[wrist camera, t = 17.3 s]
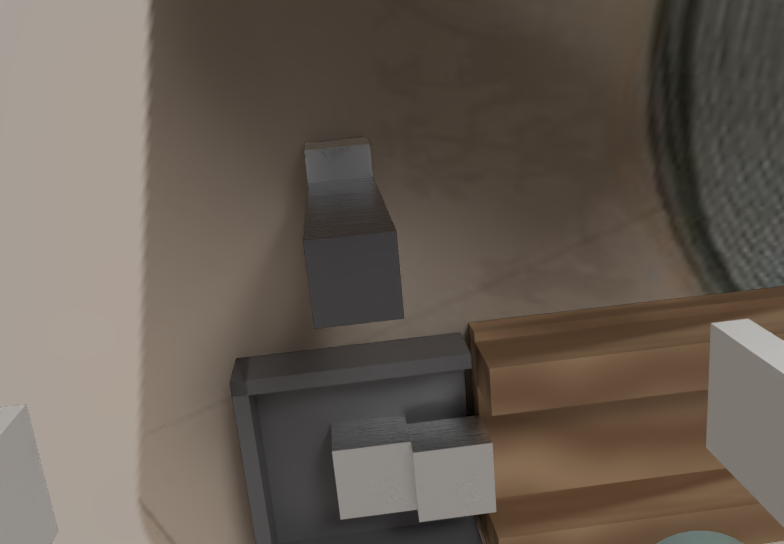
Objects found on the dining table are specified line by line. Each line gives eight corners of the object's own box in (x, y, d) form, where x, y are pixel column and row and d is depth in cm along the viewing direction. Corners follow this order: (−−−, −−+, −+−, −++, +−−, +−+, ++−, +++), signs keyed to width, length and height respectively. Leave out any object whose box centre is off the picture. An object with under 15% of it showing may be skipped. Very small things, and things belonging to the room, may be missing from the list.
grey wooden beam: (305, 142, 37) (297, 194, 24) (365, 136, 37) (392, 184, 24) (319, 259, 39) (319, 370, 25) (377, 253, 39) (407, 360, 25)
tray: (235, 358, 40) (229, 382, 37) (459, 332, 40) (470, 353, 38) (266, 551, 43) (263, 586, 40) (472, 523, 44) (483, 556, 41)
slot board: (468, 322, 40) (488, 359, 36) (790, 285, 42) (850, 315, 37) (481, 529, 44) (501, 587, 39) (775, 490, 45) (829, 542, 40)
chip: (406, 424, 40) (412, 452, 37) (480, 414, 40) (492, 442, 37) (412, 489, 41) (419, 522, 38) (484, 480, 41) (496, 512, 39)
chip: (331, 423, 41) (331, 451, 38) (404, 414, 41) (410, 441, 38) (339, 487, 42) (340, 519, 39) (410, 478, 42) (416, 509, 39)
